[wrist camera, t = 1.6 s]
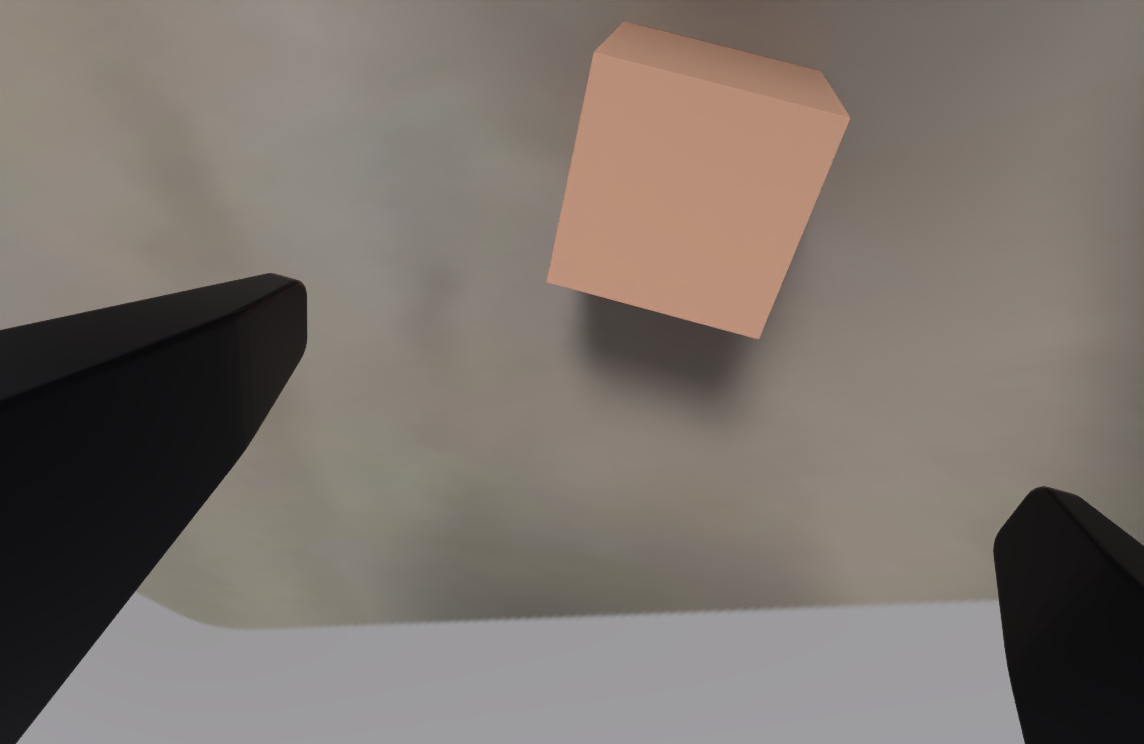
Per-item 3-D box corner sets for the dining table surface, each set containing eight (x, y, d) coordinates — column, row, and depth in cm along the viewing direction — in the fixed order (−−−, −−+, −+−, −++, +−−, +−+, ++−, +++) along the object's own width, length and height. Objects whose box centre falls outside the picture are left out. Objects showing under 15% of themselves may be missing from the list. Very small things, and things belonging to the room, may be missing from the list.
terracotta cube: (820, 70, 18) (851, 117, 13) (751, 253, 20) (758, 339, 16) (624, 20, 18) (594, 51, 14) (582, 208, 21) (546, 282, 16)
